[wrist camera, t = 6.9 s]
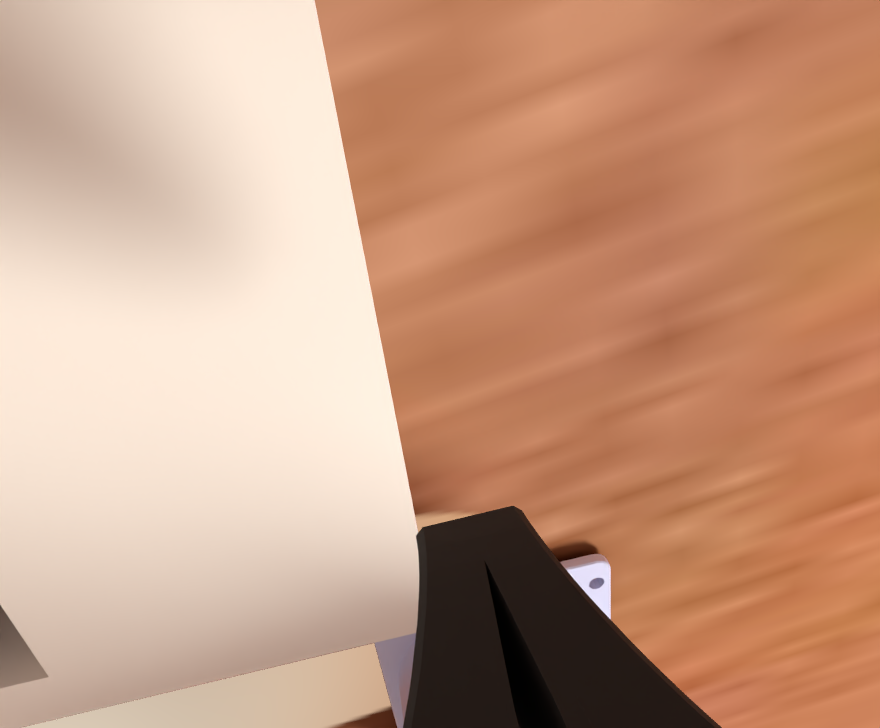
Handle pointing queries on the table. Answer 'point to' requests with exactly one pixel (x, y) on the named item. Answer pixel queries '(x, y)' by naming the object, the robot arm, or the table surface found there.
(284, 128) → the slot board
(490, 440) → the table surface
